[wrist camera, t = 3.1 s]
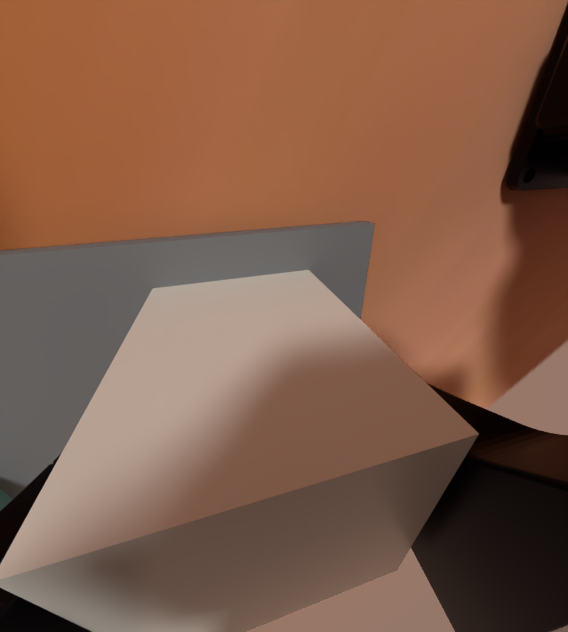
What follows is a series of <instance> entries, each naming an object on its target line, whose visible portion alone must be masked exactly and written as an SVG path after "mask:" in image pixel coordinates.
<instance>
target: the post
mask: <svg viewBox="0 0 568 632" xmlns="http://www.w3.org/2000/svg"><path fill="white" fill-rule="evenodd" d="M11 500H12V498H11V497H10V496H9V495H7V494H6V493H5V492H4V491H2V490H1V489H0V510H1V509H3V508H4V507H5V506H6V505H7V504H8V503H9V502H10V501H11Z"/></svg>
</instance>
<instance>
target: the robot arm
mask: <svg viewBox="0 0 568 632" xmlns="http://www.w3.org/2000/svg"><path fill="white" fill-rule="evenodd" d="M507 187H508V188H509V189H510V190H523V191H524V190H540V189H556V188H568V18H567V20H566V23H565V26H564V28H563V31H562V34H561V36H560V39H559V42H558V44H557V47H556V50H555V52H554V55H553V58H552V60H551V63H550V66H549V68H548V71H547V74H546V76H545V79H544V82H543V84H542V87H541V90H540V92H539V95H538V98H537V100H536V103H535V106H534V108H533V111H532V114H531V116H530V119H529V122H528V124H527V127H526V130H525V132H524V135H523V138H522V140H521V143H520V146H519V148H518V151H517V154H516V156H515V159H514V162H513V164H512V167H511V170H510V172H509V175H508V178H507ZM427 384H428V383H427ZM428 385H429V386H430V387H431V388H432V389H433V390H434V391H435V392H436V393H437V394H438V395H439V396H440V397H441V398H442V399H443V400H444V401H445V402H447V403H448V404H449V405H450V406H451V407H452V408H453V409H454V410H455V411H456V412H457V413H458V414H459V415H460V416H461V417H462V418H463V419H464V420H465V421H466V422H467V423H468V424H469V425H470V426H471V427H472V428H474V429H475V430H476V431H477V432H478V433H479V435H478V436H477V438H476V440H475V441H474V443H473V445H472V446H471V448H470V450H469V451H468V453H467V455H466V456H465V458H464V460H463V461H462V463H461V465H460V466H459V468H458V470H457V471H456V473H455V475H454V476H453V478H452V480H451V481H450V483H449V485H448V486H447V488H446V490H445V491H444V493H443V494H442V496H441V498H440V499H439V501H438V503H437V504H436V506H435V508H434V509H433V511H432V513H431V514H430V516H429V518H428V519H427V521H426V523H425V524H424V526H423V528H422V529H421V531H420V533H419V534H418V536H417V538H416V539H415V541H414V543H413V544H412V546H411V548H412V550H413V552H414V554H415V556H416V558H417V560H418V562H419V563H420V565H421V567H422V569H423V571H424V573H425V575H426V577H427V579H428V581H429V583H430V585H431V586H432V588H433V590H434V592H435V594H436V596H437V598H438V600H439V602H440V603H441V605H442V607H443V609H444V611H445V613H446V615H447V617H448V619H449V621H450V623H451V624H452V627H453V628H454V630H455V632H568V435H559V434H553V433H548V432H544V431H540V430H536V429H533V428H530V427H527V426H525V425H522V424H520V423H517V422H515V421H512V420H510V419H508V418H505V417H503V416H501V415H498V414H496V413H493V412H491V411H489V410H486V409H484V408H482V407H479V406H477V405H474V404H472V403H470V402H467V401H465V400H463V399H460V398H458V397H456V396H454V395H451V394H449V393H447V392H445V391H443V390H440V389H438V388H436V387H434V386H432V385H430V384H428ZM60 455H61V454H60ZM60 455H59V456H58V457H57V458H56V459H55V460H54V461H53V464H49V465H48V466H47V467H46V468H45V469H44V470H43V471H42V472H41V473H40V474H39V475H38V476H37V477H36V478H35V479H34V480H33V481H32V482H31V483H29V484H28V485H27V486H26V487H25V488H24V489H23V490H22V491H21V492H20V493H19V494H18V495H17V496H16V497H15V498H13V499H12V500H11V501H10V502H9V503H8V504H7V505H6V506H5V507H4V508H3V509H1V510H0V564H1V562H2V560H3V558H4V557H5V555H6V553H7V551H8V549H9V548H10V546H11V544H12V542H13V540H14V539H15V537H16V535H17V533H18V531H19V529H20V528H21V526H22V524H23V522H24V520H25V519H26V517H27V515H28V513H29V511H30V510H31V508H32V506H33V504H34V502H35V501H36V499H37V497H38V495H39V493H40V491H41V490H42V488H43V486H44V484H45V482H46V481H47V479H48V477H49V475H50V473H51V472H52V470H53V468H54V466H55V464H56V463H57V461H58V459H59V457H60ZM0 632H92V631H90V630H87V629H85V628H83V627H81V626H79V625H77V624H75V623H73V622H71V621H69V620H67V619H65V618H62V617H60V616H58V615H56V614H54V613H52V612H50V611H48V610H46V609H44V608H42V607H40V606H38V605H35V604H33V603H31V602H29V601H27V600H25V599H23V598H21V597H19V596H17V595H15V594H13V593H10V592H8V591H6V590H4V589H2V588H0Z"/></svg>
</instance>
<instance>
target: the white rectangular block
mask: <svg viewBox="0 0 568 632" xmlns="http://www.w3.org/2000/svg"><path fill="white" fill-rule="evenodd" d="M478 435H479V433H478V432H477V431H476V430H475V429H474V428H472V427H471V426H470V425H469V424H468V423H467V422H466V421H465V420H464V419H463V418H462V417H461V416H460V415H459V414H458V413H457V412H456V411H455V410H454V409H453V408H452V407H451V406H450V405H449V404H448V403H447V402H445V401H444V400H443V399H442V398H441V397H440V396H439V395H438V394H437V393H436V392H435V391H434V390H433V389H432V388H431V387H430V386H429V385H428V384H427V383H426V382H425V381H424V380H423V379H422V378H421V377H420V376H418V375H417V374H416V373H415V372H414V371H413V370H412V369H411V368H410V367H409V366H408V365H407V364H406V363H405V362H404V361H403V360H402V359H401V358H400V357H399V356H398V355H397V354H396V353H395V352H394V351H393V350H391V349H390V348H389V347H388V346H387V345H386V344H385V343H384V342H383V341H382V340H381V339H380V338H379V337H378V336H377V335H376V334H375V333H374V332H373V331H372V330H371V329H370V328H369V327H368V326H367V325H365V324H364V323H363V322H362V321H361V320H360V319H359V318H358V317H357V316H356V315H355V314H354V313H353V312H352V311H351V310H350V309H349V308H348V307H347V306H346V305H345V304H344V303H343V302H342V301H341V300H340V299H338V298H337V297H336V296H335V295H334V294H333V293H332V292H331V291H330V290H329V289H328V288H327V287H326V286H325V285H324V284H323V283H322V282H321V281H320V280H319V279H318V278H317V277H316V276H315V275H314V274H313V273H311V272H310V271H309V270H303V271H294V272H286V273H278V274H269V275H261V276H252V277H244V278H236V279H227V280H219V281H211V282H202V283H194V284H185V285H177V286H169V287H160V288H153V289H152V290H151V292H150V294H149V296H148V298H147V300H146V301H145V303H144V305H143V307H142V309H141V310H140V312H139V314H138V316H137V318H136V319H135V321H134V323H133V325H132V327H131V329H130V330H129V332H128V334H127V336H126V338H125V339H124V341H123V343H122V345H121V347H120V348H119V350H118V352H117V354H116V356H115V357H114V359H113V361H112V363H111V365H110V367H109V368H108V370H107V372H106V374H105V376H104V377H103V379H102V381H101V383H100V385H99V386H98V388H97V390H96V392H95V394H94V396H93V397H92V399H91V401H90V403H89V405H88V406H87V408H86V410H85V412H84V414H83V415H82V417H81V419H80V421H79V423H78V424H77V426H76V428H75V430H74V432H73V434H72V435H71V437H70V439H69V441H68V443H67V444H66V446H65V448H64V450H63V452H62V453H61V455H60V457H59V459H58V461H57V463H56V464H55V466H54V468H53V470H52V472H51V473H50V475H49V477H48V479H47V481H46V482H45V484H44V486H43V488H42V490H41V491H40V493H39V495H38V497H37V499H36V501H35V502H34V504H33V506H32V508H31V510H30V511H29V513H28V515H27V517H26V519H25V520H24V522H23V524H22V526H21V528H20V529H19V531H18V533H17V535H16V537H15V539H14V540H13V542H12V544H11V546H10V548H9V549H8V551H7V553H6V555H5V557H4V558H3V560H2V562H1V564H0V588H2V589H4V590H6V591H8V592H10V593H13V594H15V595H17V596H19V597H21V598H23V599H25V600H27V601H29V602H31V603H33V604H35V605H38V606H40V607H42V608H44V609H46V610H48V611H50V612H52V613H54V614H56V615H58V616H60V617H62V618H65V619H67V620H69V621H71V622H73V623H75V624H77V625H79V626H81V627H83V628H85V629H87V630H90V631H92V632H246V631H248V630H251V629H253V628H256V627H258V626H260V625H263V624H266V623H268V622H270V621H273V620H275V619H278V618H280V617H282V616H285V615H287V614H290V613H292V612H295V611H297V610H300V609H302V608H305V607H307V606H309V605H312V604H315V603H317V602H320V601H322V600H324V599H327V598H329V597H332V596H334V595H337V594H339V593H342V592H344V591H346V590H349V589H351V588H354V587H356V586H359V585H361V584H363V583H366V582H368V581H371V580H373V579H376V578H378V577H381V576H383V575H386V574H388V573H391V572H393V571H395V570H397V569H398V568H399V566H400V564H401V563H402V561H403V559H404V558H405V556H406V554H407V553H408V551H409V549H410V548H411V546H412V544H413V543H414V541H415V539H416V538H417V536H418V534H419V533H420V531H421V529H422V528H423V526H424V524H425V523H426V521H427V519H428V518H429V516H430V514H431V513H432V511H433V509H434V508H435V506H436V504H437V503H438V501H439V499H440V498H441V496H442V494H443V493H444V491H445V490H446V488H447V486H448V485H449V483H450V481H451V480H452V478H453V476H454V475H455V473H456V471H457V470H458V468H459V466H460V465H461V463H462V461H463V460H464V458H465V456H466V455H467V453H468V451H469V450H470V448H471V446H472V445H473V443H474V441H475V440H476V438H477V436H478Z"/></svg>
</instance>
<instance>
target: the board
mask: <svg viewBox="0 0 568 632" xmlns="http://www.w3.org/2000/svg"><path fill="white" fill-rule="evenodd" d="M374 224H375V223H371V222H368V221H358V222H346V223H334V224H321V225H309V226H297V227H285V228H272V229H260V230H248V231H235V232H223V233H211V234H199V235H186V236H174V237H162V238H150V239H137V240H125V241H113V242H100V243H88V244H76V245H64V246H51V247H39V248H27V249H15V250H2V251H0V489H1V490H2V491H4V492H5V493H6V494H7V495H9V496H10V497H11V498H12V499H13V498H15V497H16V496H17V495H18V494H19V493H20V492H21V491H22V490H23V489H24V488H25V487H26V486H27V485H28V484H29V483H31V482H32V481H33V480H34V479H35V478H36V477H37V476H38V475H39V474H40V473H41V472H42V471H43V470H44V469H45V468H46V467H47V466H48V465H49V464H53V461H54V460H55V459H56V458H57V457H58V456H59V455H60V454H61V453H62V452H63V450H64V448H65V446H66V444H67V443H68V441H69V439H70V437H71V435H72V434H73V432H74V430H75V428H76V426H77V424H78V423H79V421H80V419H81V417H82V415H83V414H84V412H85V410H86V408H87V406H88V405H89V403H90V401H91V399H92V397H93V396H94V394H95V392H96V390H97V388H98V386H99V385H100V383H101V381H102V379H103V377H104V376H105V374H106V372H107V370H108V368H109V367H110V365H111V363H112V361H113V359H114V357H115V356H116V354H117V352H118V350H119V348H120V347H121V345H122V343H123V341H124V339H125V338H126V336H127V334H128V332H129V330H130V329H131V327H132V325H133V323H134V321H135V319H136V318H137V316H138V314H139V312H140V310H141V309H142V307H143V305H144V303H145V301H146V300H147V298H148V296H149V294H150V292H151V290H152V289H153V288H160V287H169V286H177V285H185V284H194V283H202V282H211V281H219V280H227V279H236V278H244V277H252V276H261V275H269V274H278V273H286V272H294V271H303V270H309V271H310V272H311V273H313V274H314V275H315V276H316V277H317V278H318V279H319V280H320V281H321V282H322V283H323V284H324V285H325V286H326V287H327V288H328V289H329V290H330V291H331V292H332V293H333V294H334V295H335V296H336V297H337V298H338V299H340V300H341V301H342V302H343V303H344V304H345V305H346V306H347V307H348V308H349V309H350V310H351V311H352V312H353V313H354V314H355V315H356V316H357V317H358V318H359V319H361V313H362V306H363V299H364V292H365V285H366V279H367V272H368V265H369V258H370V252H371V245H372V238H373V231H374Z"/></svg>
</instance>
